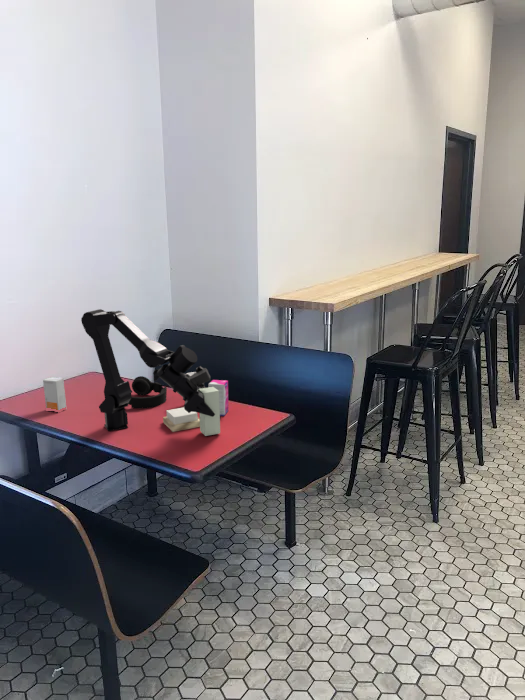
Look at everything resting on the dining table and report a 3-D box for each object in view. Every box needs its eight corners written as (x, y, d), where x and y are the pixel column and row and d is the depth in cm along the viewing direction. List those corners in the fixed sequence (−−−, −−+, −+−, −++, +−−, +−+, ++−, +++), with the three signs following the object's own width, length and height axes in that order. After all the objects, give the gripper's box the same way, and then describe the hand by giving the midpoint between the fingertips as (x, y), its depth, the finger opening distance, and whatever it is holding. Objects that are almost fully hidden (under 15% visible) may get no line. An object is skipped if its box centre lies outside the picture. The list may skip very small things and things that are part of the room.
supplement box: (225, 416, 202) (223, 384, 199) (208, 415, 203) (207, 384, 200) (229, 411, 207) (228, 379, 205) (213, 410, 208) (211, 379, 206)
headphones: (143, 371, 232) (176, 385, 220) (143, 389, 235) (176, 404, 223) (105, 382, 219) (139, 397, 207) (106, 401, 222) (139, 417, 210)
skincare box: (45, 411, 212) (42, 379, 210) (54, 408, 216) (50, 376, 213) (59, 413, 210) (55, 381, 207) (67, 409, 214) (63, 378, 211)
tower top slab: (174, 424, 189) (174, 417, 189) (166, 417, 196) (166, 410, 196) (197, 420, 193) (197, 413, 192) (189, 413, 200) (188, 406, 199)
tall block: (205, 435, 182) (203, 393, 179) (200, 430, 187) (198, 388, 184) (220, 433, 184) (218, 390, 181) (214, 428, 189) (213, 386, 186)
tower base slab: (172, 433, 189) (172, 426, 188) (163, 424, 197) (163, 417, 197) (201, 427, 193) (201, 420, 192) (191, 419, 202) (191, 412, 201)
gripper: (193, 369, 171) (232, 403, 174) (195, 354, 189) (230, 385, 193) (168, 396, 172) (207, 429, 176) (172, 378, 190) (207, 409, 194)
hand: (214, 412), depth 184 cm, fingers closed on tall block, 6 cm apart
